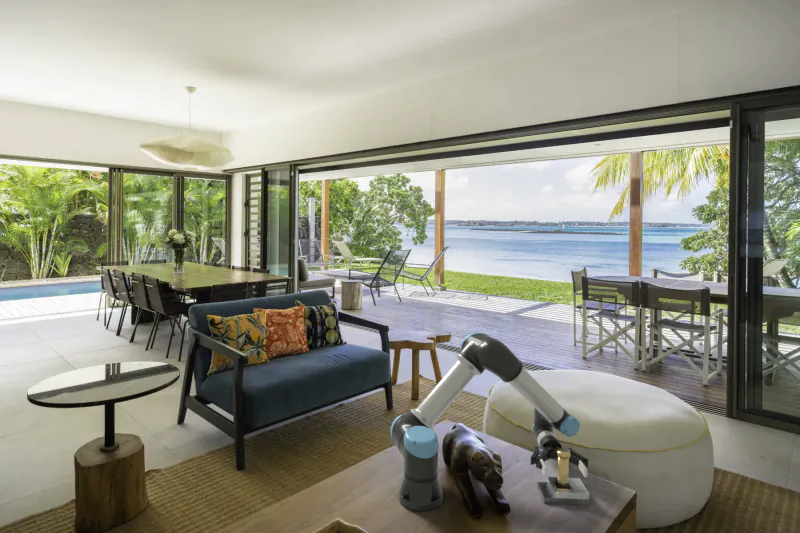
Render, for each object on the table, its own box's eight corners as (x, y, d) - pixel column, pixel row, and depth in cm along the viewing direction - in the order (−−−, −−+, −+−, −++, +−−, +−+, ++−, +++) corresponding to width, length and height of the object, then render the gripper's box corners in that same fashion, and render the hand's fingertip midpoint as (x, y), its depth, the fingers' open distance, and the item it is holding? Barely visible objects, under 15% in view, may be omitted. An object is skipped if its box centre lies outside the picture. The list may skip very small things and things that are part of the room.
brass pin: (557, 499, 159) (559, 454, 158) (554, 492, 164) (555, 448, 163) (570, 499, 159) (572, 454, 158) (566, 492, 164) (568, 448, 162)
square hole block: (544, 503, 157) (544, 491, 157) (537, 487, 167) (537, 476, 167) (589, 505, 156) (589, 493, 156) (579, 488, 166) (579, 478, 166)
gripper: (582, 455, 178) (602, 484, 157) (516, 452, 180) (528, 481, 159) (582, 436, 178) (603, 463, 157) (517, 434, 179) (529, 460, 158)
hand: (565, 472), depth 158 cm, fingers open, 13 cm apart
